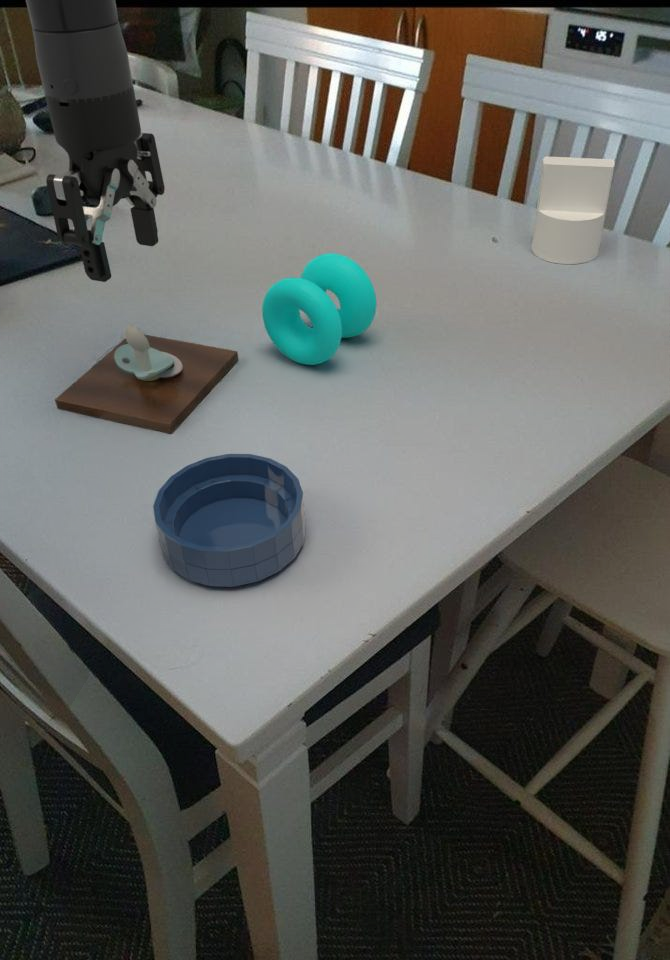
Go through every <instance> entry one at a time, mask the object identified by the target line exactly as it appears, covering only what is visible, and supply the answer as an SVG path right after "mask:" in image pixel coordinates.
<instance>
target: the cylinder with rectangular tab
mask: <svg viewBox="0 0 670 960" xmlns="http://www.w3.org/2000/svg"><path fill="white" fill-rule="evenodd" d="M615 163H616V162H615V160H614V159H612V158H594V157H593V158H591V157H589V158H588V157H568V156H567V157H566V156H544V157H543V159H542V163H541V171H540V180H539V187H538V194H537V201H536V202H537V203H536V211H535V218H534V227H533V234H532V243H531V252H532V253H533V254H534V256H535V257H537V258H539V259H541V260H543V261H546V262H549V263H554V264H559V265H580V264H586V263H588V262H592V261H594V260H595V259H596V258H597V257H598V256H599V252H600V247H601V241H602V236H603V231H604V224H605V220H606V215H607V210H608V209H607V208H608V205H609V204H608V203H609V198H610V192H611V187H612V182H613V175H614V171H615V165H616V164H615Z"/></svg>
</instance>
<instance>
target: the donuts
mask: <svg viewBox="0 0 670 960" xmlns="http://www.w3.org/2000/svg"><path fill="white" fill-rule="evenodd" d="M327 291H330V292H331V293H333V295H335V296H336V298H337V300H338V302H339V308H338V307H336V306H337V305H336V304H335V303H334V301H333V300H332V298H331V297H330V296H329V295H328V293H327ZM261 310H262V320H263V324H264V329H265V331H266V332H267V336H269V339H270V340H271V342H272V343H273V345H274V346H275V347H276V348H277V349H278V350H279V352H281V353H282V355H284V356H286V357H287V358H288V359H290V360H292V361H293V362H296V363H298V364H301V365H307V366H317V365H320V364H322V363H325V362H327V361H328V360H330V359H331V358H332V357H333V356H334V355H335V354H336V353H337V350H338V349H339V347H340V345H341V341H342V339H348V338H354V337H357V336H360V335H361V334H363V333H364V332H365V331H366V330H368V328H370V326H371V324H372V323H373V322H374V319H375V316H376V311H377V296H376V291H375V287H374V285H373V283H372V280H371V279H370V277H369V276H368V274H367V272H366V271H365V269H363V268H362V267H361V265H359V264H358V263H357V262H356V261H355V260H353V259H352V258H350V257H348V256H345V255H344V254H339V253H334V252H328V253H322V254H319V255H317V256H315V257H313V258H312V259H310V261H309V262H308V263H307V264H306V266H305V267H304V268H303V270H302V272H301V275H300V277H285V278H282V279H280V280H278V281H276V282H275V283H274V284H272V285H271V286H270V288H269V289H268V290H267V291H266V293H265V296H264V298H263V302H262V309H261ZM300 311H302V312H303V313H304V314H305V315H306V316H307V318H308V319H309V321H310V323H311V327H310V326H309V325H307V324H306V323H305V322H304V321H303V319H302V317H301V313H300Z"/></svg>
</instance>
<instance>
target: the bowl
mask: <svg viewBox="0 0 670 960" xmlns="http://www.w3.org/2000/svg"><path fill="white" fill-rule="evenodd" d="M154 499H155V500H154V502H153V505H152V508H153V516H154V523H155V528H156V531H157V535H158V539H159V543H160V548H161V551H162V555H163V558H164V560H165V561H166V562H167V564H168V565H169V566H170V568H171V570H173V571H174V572H176V573H177V574H179V575H180V576H181V577H183V578H184V579H186V580H188V581H190V582H194V583H198V584H201V585H204V586H208V587H219V588H220V587H222V588H223V587H225V588H229V587H230V588H231V587H232V588H233V587H238V586H243V585H249V584H253V583H257V582H260V581H262V580H264V579H266V578H269V577H270V576H273V575H275V574H277V573H278V572H280V571H282V570H283V569H284V568H285V567H286V566H287V565H289V564H290V563H291V562H292V561H293V560H294V559H295V558H296V557H297V556H298V553H299V552H300V550H301V548H302V547H303V545H304V543H305V536H306V528H307V527H306V514H305V503H304V502H305V501H304V492H303V489H302V486H301V483H300V480H299V478H298V477H297V476H296V475H295V473H293V472H292V471H291V470H290V469H289V467H288V466H286V465H284V464H282V463H280V462H278V461H276V460H274V459H273V458H269V457H266V456H263V455H256V454H253V453H251V454H250V453H225V454H220V455H214V456H208V457H205V458H203V459H201V460H198V461H195V462H193V463H190V464H187V465H186V466H184V467H183V468H181V469H180V470H178V471H177V472H175V473H174V474H172V475H171V476H170V477H168V479H167V480H166V481H165V482H164V484H163V485H162V486H161V487H160V488H159V489H158V491H157V494H156V496H155V498H154Z"/></svg>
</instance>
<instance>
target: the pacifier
mask: <svg viewBox="0 0 670 960" xmlns="http://www.w3.org/2000/svg"><path fill="white" fill-rule="evenodd" d="M145 335H146V334H144V332H142V330H141V329H140V328H139V327H138V326H136V325H134V324H131V323H130V324H128V325H126V327H125V329H124V339H125V338H126V340H127V342H128V344H125V345H122V346H120V347H119V348H117V350H116V351H115V354H114V358H115V362H116V364H117V366H118V367H119V368H120V369H121V370H123V371H125V372H128V373H132V374H135V375H136V377H137V378H138V379H142V380H145V381H153V380H157V379H159V378H161V377H171V376H175V375H177V374H179V373H180V372H181V370H182V368H183V365H182V363H181V361H180V360H179V359H178V358H177V357H175V356H173V355H171V354H169V353H165V352H161V351H158V350H156V349H154V348H151V347H150V345H149V342H148V340H147V338H146V337H145ZM123 360H128V361H130V363H128V364H126V363H123V362H122V361H123ZM172 365H174V367H173V368H172V369H170V370H167V369H168V368H169V367H171V366H172ZM165 370H167V371H165Z"/></svg>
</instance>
